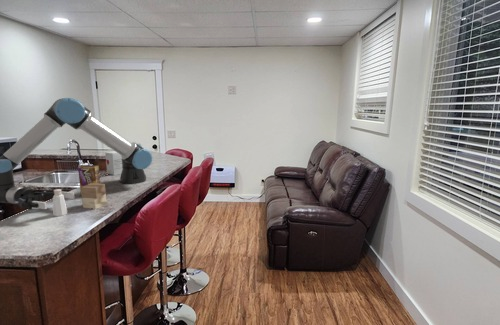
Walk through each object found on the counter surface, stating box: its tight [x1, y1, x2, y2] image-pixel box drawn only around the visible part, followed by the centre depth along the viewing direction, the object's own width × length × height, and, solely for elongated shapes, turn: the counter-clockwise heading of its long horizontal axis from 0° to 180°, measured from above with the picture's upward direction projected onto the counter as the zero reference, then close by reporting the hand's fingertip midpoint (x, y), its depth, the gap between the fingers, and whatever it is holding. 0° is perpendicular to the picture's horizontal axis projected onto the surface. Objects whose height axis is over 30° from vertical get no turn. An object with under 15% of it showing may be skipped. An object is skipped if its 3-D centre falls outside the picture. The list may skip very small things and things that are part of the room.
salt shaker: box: [52, 188, 68, 217], centre depth 123 cm, size 5×5×11 cm
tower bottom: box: [81, 193, 107, 210], centre depth 135 cm, size 7×7×5 cm
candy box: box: [77, 165, 101, 196], centre depth 151 cm, size 9×4×15 cm, turn 89°
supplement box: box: [104, 150, 122, 176], centre depth 197 cm, size 9×9×15 cm
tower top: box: [80, 183, 107, 199], centre depth 134 cm, size 7×7×5 cm
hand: (60, 200), depth 123 cm, fingers open, 13 cm apart
